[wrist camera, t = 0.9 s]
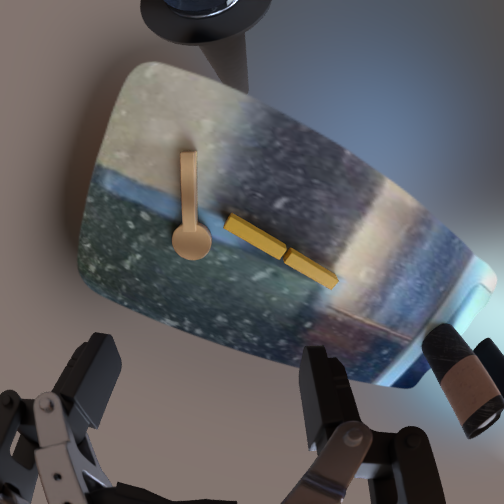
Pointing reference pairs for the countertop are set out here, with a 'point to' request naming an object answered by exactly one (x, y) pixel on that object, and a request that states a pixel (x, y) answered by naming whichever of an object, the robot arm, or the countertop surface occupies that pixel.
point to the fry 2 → (310, 268)
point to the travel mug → (463, 380)
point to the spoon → (190, 214)
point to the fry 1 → (255, 236)
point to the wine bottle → (492, 362)
